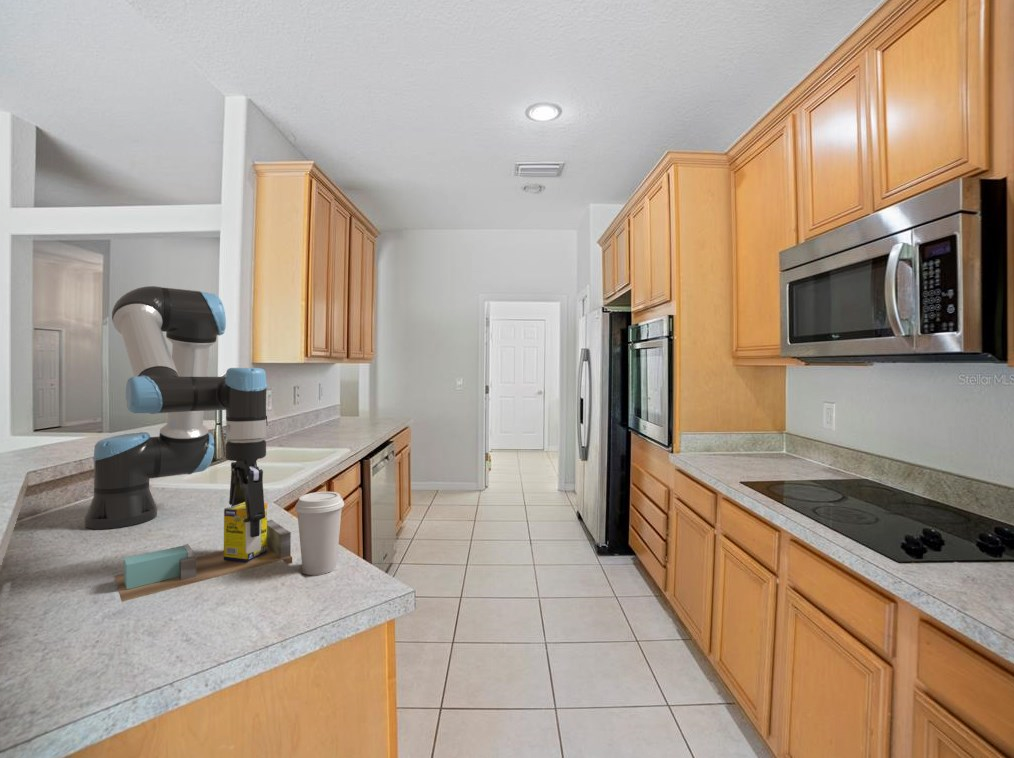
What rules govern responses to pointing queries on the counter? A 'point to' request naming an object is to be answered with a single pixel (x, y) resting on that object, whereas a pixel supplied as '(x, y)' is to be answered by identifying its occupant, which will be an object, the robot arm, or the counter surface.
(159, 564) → the teal rectangular block
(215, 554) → the rail base
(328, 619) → the counter surface
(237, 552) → the supplement box
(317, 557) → the coffee cup
